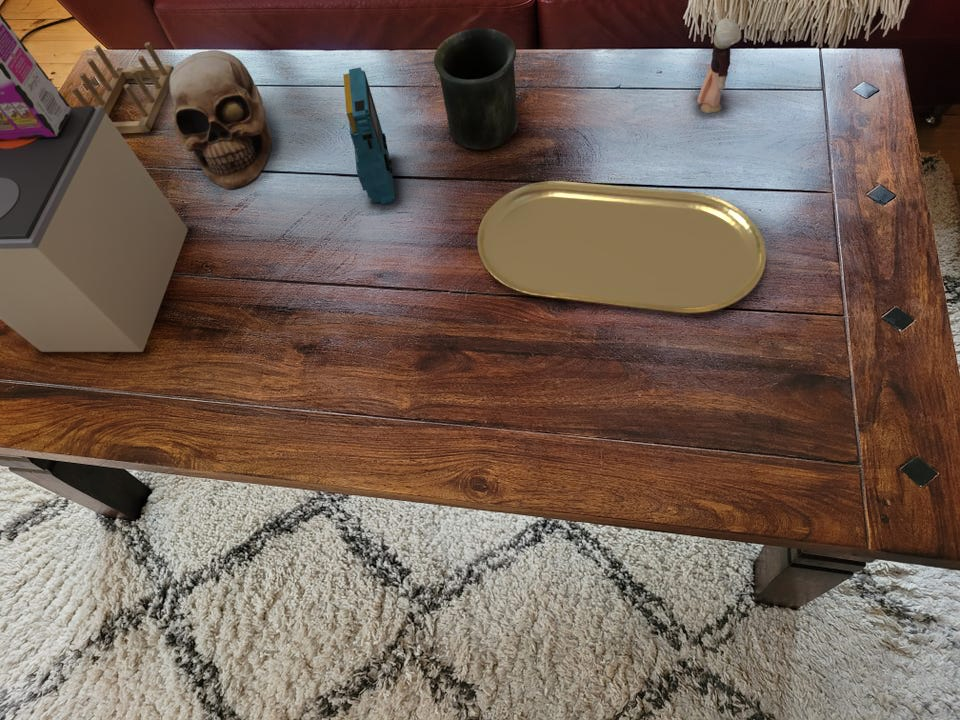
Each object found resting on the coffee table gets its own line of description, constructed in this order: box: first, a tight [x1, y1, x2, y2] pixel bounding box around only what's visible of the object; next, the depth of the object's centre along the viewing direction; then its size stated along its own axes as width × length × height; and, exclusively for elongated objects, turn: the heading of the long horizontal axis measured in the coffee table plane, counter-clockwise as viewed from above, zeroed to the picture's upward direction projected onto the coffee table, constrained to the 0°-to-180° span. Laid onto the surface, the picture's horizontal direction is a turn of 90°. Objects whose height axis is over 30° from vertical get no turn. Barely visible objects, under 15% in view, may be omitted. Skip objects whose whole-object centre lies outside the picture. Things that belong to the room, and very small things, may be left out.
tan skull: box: [169, 49, 273, 190], centre depth 99 cm, size 16×17×13 cm
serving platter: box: [476, 180, 767, 315], centre depth 85 cm, size 19×35×2 cm, turn 77°
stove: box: [0, 105, 189, 353], centre depth 82 cm, size 14×20×22 cm
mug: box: [433, 27, 519, 151], centre depth 95 cm, size 11×15×12 cm
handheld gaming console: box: [342, 66, 396, 206], centre depth 90 cm, size 10×4×15 cm, turn 9°
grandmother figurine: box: [696, 17, 742, 114], centre depth 91 cm, size 8×4×13 cm, turn 3°
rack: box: [70, 41, 175, 135], centre depth 109 cm, size 10×14×7 cm
